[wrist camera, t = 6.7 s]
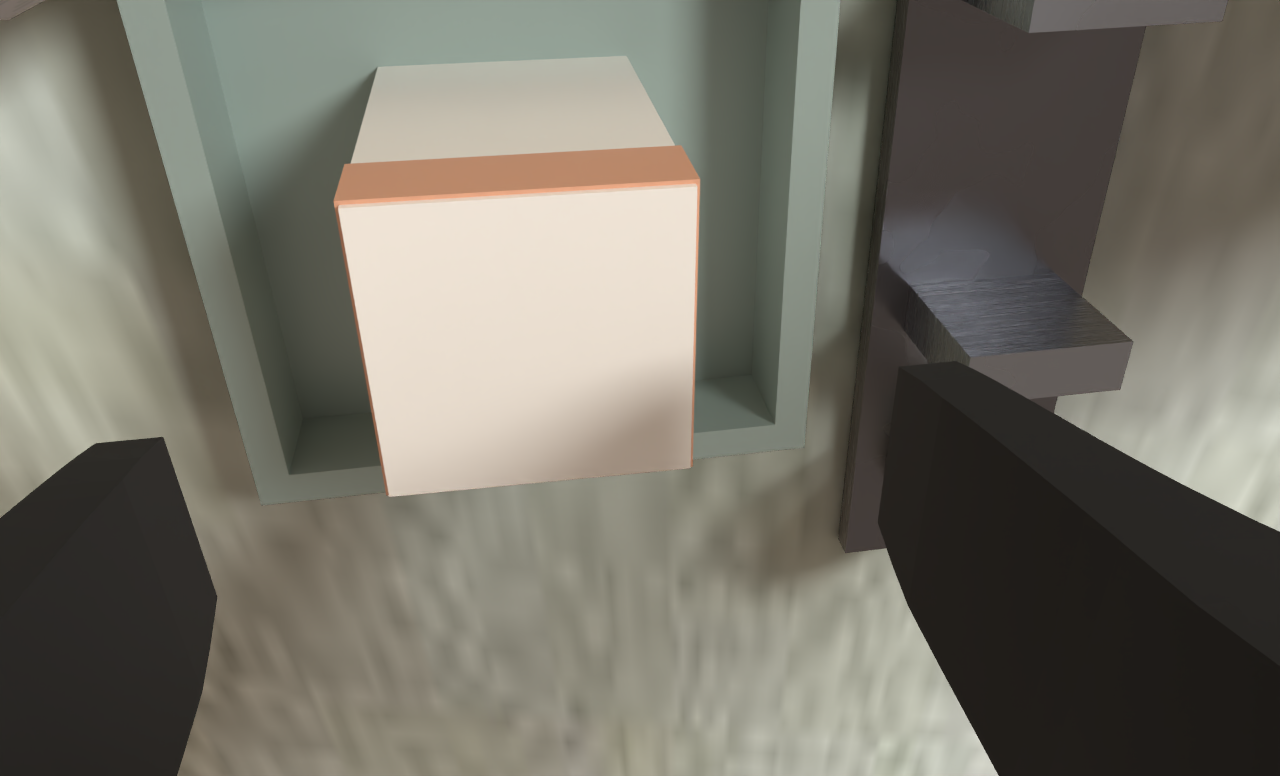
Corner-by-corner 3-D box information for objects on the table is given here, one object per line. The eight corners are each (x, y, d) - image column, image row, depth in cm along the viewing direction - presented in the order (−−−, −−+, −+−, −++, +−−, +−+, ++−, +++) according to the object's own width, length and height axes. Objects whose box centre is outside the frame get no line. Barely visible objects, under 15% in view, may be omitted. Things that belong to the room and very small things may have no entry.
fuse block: (1259, -545, 14) (1555, -656, 10) (1015, 517, 24) (1117, 659, 20) (956, -547, 13) (1149, -666, 10) (838, 538, 24) (909, 687, 20)
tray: (804, -160, 16) (852, -148, 14) (772, 384, 21) (804, 447, 19) (134, -134, 14) (82, -119, 13) (281, 432, 20) (261, 505, 18)
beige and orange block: (629, 52, 16) (701, 181, 11) (631, 278, 19) (693, 471, 14) (374, 63, 16) (332, 204, 11) (407, 294, 18) (385, 500, 13)
